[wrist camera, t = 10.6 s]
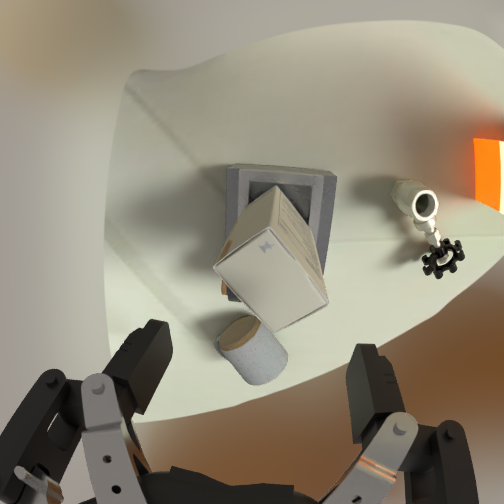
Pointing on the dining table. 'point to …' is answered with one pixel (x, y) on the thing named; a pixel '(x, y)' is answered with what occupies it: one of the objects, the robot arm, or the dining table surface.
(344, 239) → the dining table surface
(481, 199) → the orange juice
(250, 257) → the skincare box
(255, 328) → the ceramic mug
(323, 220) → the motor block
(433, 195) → the valve
